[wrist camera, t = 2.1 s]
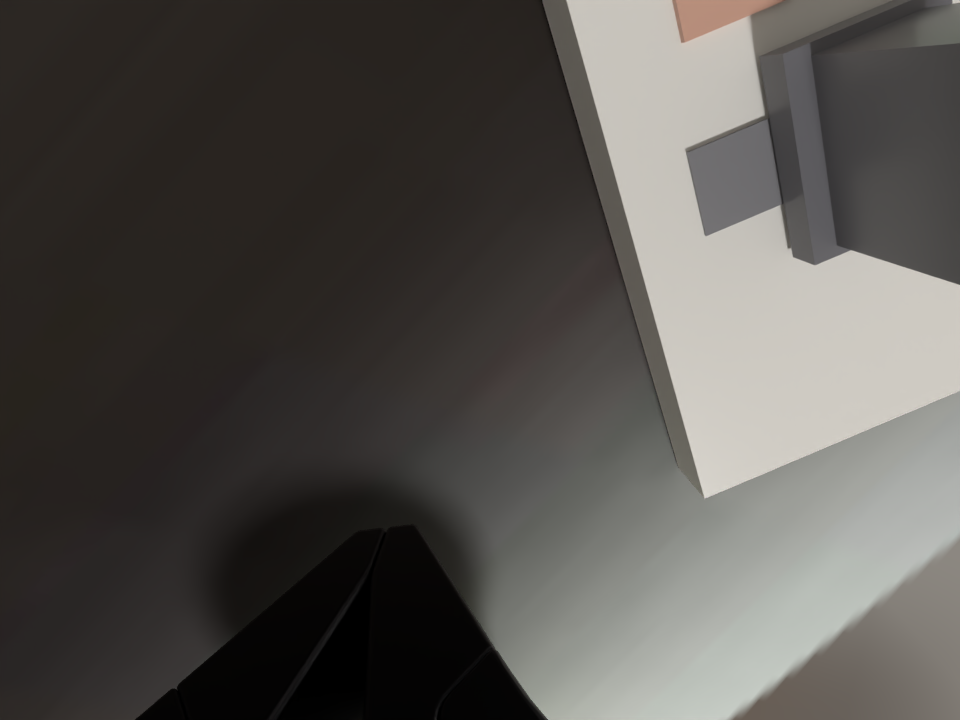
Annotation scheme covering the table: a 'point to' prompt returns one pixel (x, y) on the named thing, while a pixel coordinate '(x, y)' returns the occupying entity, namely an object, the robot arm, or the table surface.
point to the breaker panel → (738, 241)
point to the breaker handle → (872, 136)
